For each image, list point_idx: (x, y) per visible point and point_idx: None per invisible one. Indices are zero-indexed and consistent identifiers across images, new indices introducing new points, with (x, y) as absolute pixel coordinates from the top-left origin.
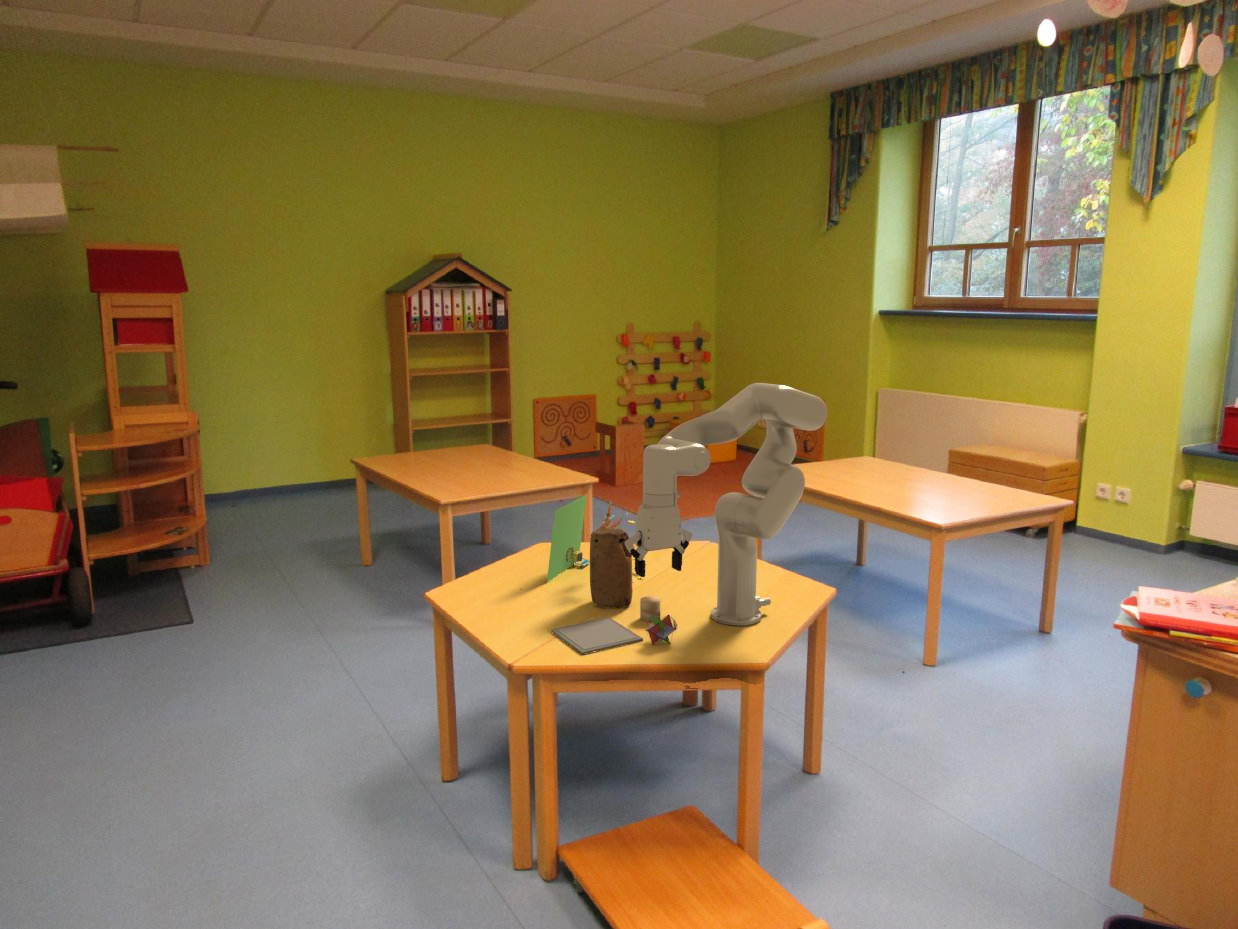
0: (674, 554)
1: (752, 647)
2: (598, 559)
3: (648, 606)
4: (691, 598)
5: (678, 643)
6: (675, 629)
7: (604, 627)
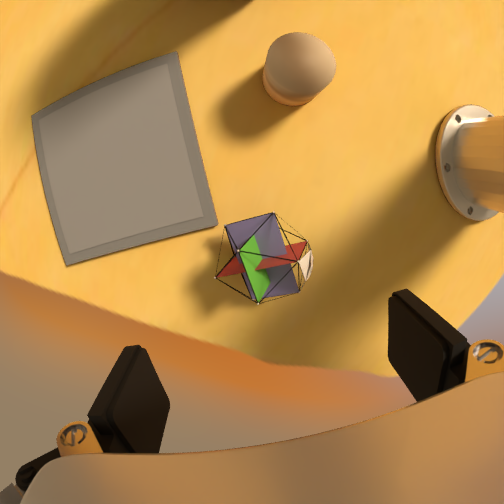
0: (435, 373)
1: None
2: None
3: (283, 89)
4: (426, 16)
5: None
6: (296, 291)
7: (138, 124)
